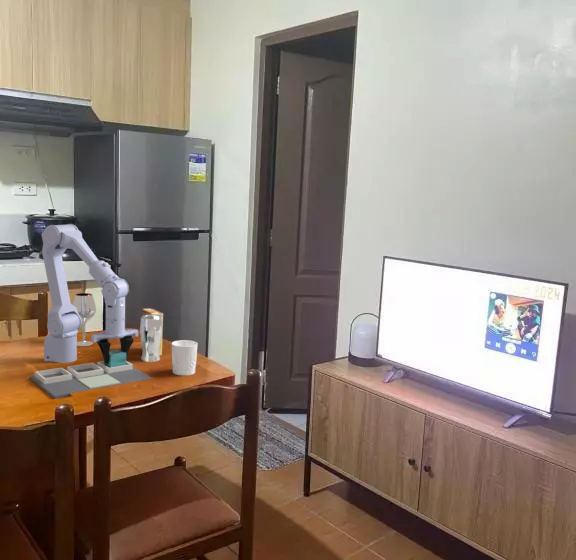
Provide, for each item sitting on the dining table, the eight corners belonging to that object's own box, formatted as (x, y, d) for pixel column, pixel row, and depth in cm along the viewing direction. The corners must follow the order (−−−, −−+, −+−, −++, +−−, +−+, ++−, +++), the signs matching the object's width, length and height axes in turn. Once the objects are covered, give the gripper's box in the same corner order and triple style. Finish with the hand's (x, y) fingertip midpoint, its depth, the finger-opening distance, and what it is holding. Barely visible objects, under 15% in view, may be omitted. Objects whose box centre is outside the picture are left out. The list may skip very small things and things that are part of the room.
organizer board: (29, 378, 178) (29, 370, 178) (122, 363, 197) (122, 356, 197) (54, 398, 163) (54, 390, 163) (152, 380, 182) (152, 373, 181)
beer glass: (156, 365, 197) (156, 320, 194) (136, 363, 198) (136, 318, 196) (164, 359, 204) (165, 315, 201) (145, 357, 205) (145, 314, 203)
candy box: (140, 352, 211) (141, 308, 209) (152, 350, 214) (153, 307, 211) (151, 358, 204) (151, 313, 202) (163, 356, 207) (163, 312, 204)
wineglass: (68, 343, 218) (67, 293, 215) (89, 339, 223) (89, 291, 221) (77, 348, 212) (77, 297, 209) (99, 344, 217) (100, 295, 215)
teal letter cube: (104, 367, 190) (104, 351, 189) (119, 364, 193) (119, 349, 192) (110, 371, 186) (110, 355, 185) (126, 368, 189) (126, 352, 188)
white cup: (174, 370, 193) (174, 339, 191) (198, 371, 193) (199, 340, 191) (168, 377, 185) (169, 345, 184) (194, 379, 185) (195, 347, 183)
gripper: (98, 323, 179) (98, 368, 181) (143, 318, 189) (142, 361, 191) (88, 319, 185) (88, 362, 187) (132, 314, 194) (132, 355, 196)
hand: (115, 361), depth 189 cm, fingers closed on teal letter cube, 5 cm apart
